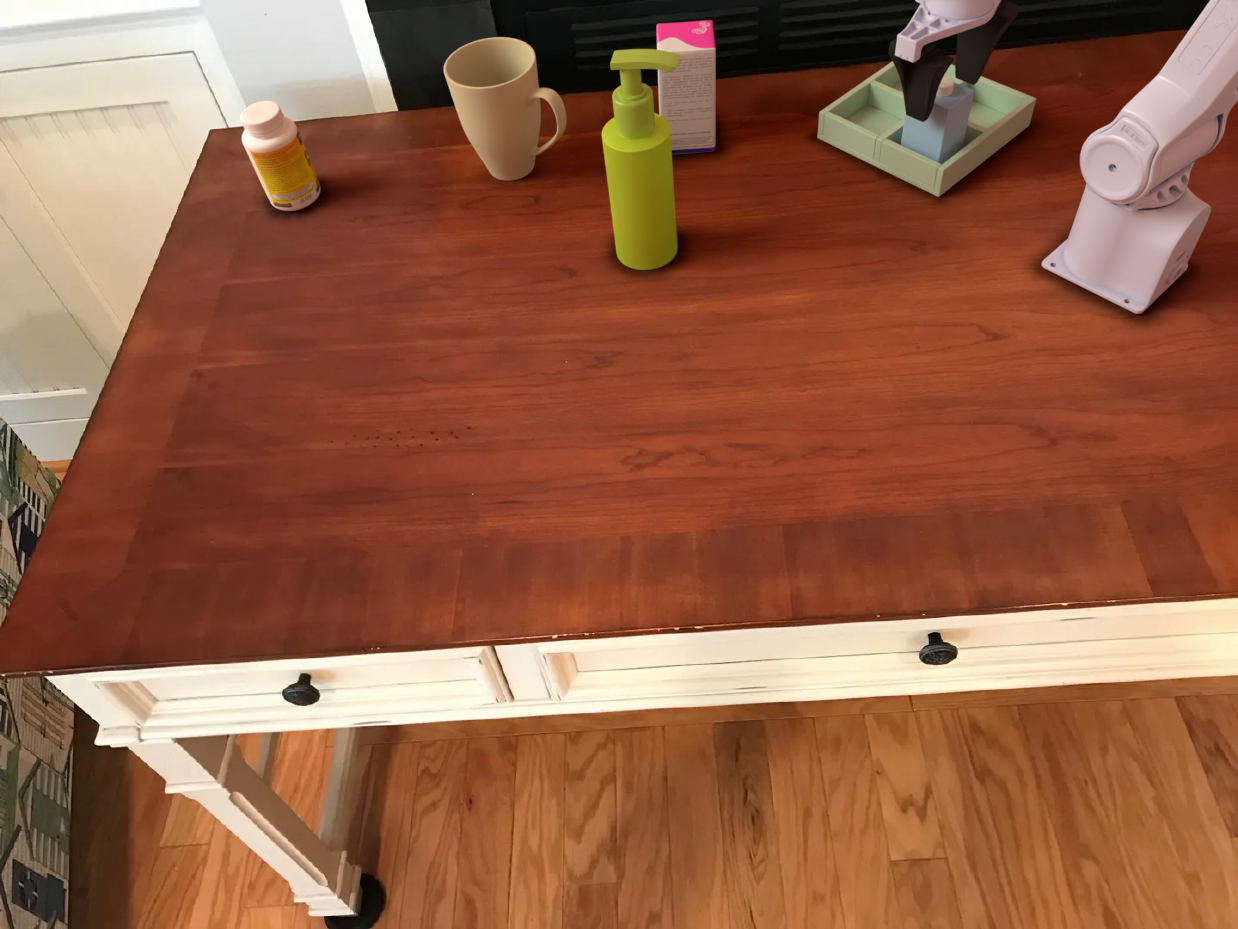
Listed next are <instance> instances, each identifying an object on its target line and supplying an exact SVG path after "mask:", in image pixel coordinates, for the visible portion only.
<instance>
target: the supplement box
mask: <svg viewBox="0 0 1238 929" xmlns="http://www.w3.org/2000/svg"><path fill="white" fill-rule="evenodd" d="M655 31H656V32H655V33H656V50H662V51H667V52H671V53H675V54H678V55H680V58H679V62H678V65H677V68H676V69H675V70H674V71H673V72H668V71H663V70H657V86H658V88H657V89H658V91H657V92H658V114H659V115H661V116H662V117H664V118H665V119H666V120H667V121H668V123H669V125H670V133H671V149H672V156H673V155H684V154H700V153H711V152H715V151H716V133H717V132H716V127H717V126H716V124H717V122H716V120H717V118H716V110H717V109H716V107H717V106H716V101H717V97H716V96H717V95H716V94H717V93H716V91H717V90H716V89H717V88H716V85H717V83H716V78H717V77H716V76H717V72H716V67H717V66H716V64H717V63H716V62H717V61H716V60H717V59H716V58H717V56H716V55H717V54H716V48H717V47H716V39H715V30H714V21H713V20H711V19H708V20H694V21H682V22H662V23H660V22H659V23H657V24H656V29H655Z"/></svg>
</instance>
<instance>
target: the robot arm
mask: <svg viewBox="0 0 1238 929" xmlns="http://www.w3.org/2000/svg"><path fill="white" fill-rule="evenodd" d="M914 1H915V3H918V4H919V6H918V7H917V9H916V11H915V12H914V14H913V16H912V17H911V19H910V21H909V22H908V24H907V25H906V27H905V28H904V29H903V30H902V31H901V32H900V33H898V34H897V35H896V37H895V39H893V40H892V41H890V43H889V46H888V47H889V48H888V56H889V57H890V59H891V62H892V61H893V63H894V65H895V67H896V69H897V72H898V74H899V77H900V80H901V84H902V89H903V96H904V103H905V110H906V115H908V116H910V117H912V118H914V119H917V120H919V121H921V122H924V121H926V120H927V119H928V118H929V116H930V114H931V112H932V109H933V105H934V102H935V98H936V95H937V91H938V88H939V86H940V83H941V81H942V79H943V77H944V75H945V73H946V71H947V70H948V68H949V67H950V65H951V64H952V65H953V62H955V63H954V65H955V76H956V78H957V79H959V80H962V81H964V82H967V83H969V84H972V85H975V84H976V83H977V82H978V80H979V79H980V77H981V76H983V72H984V71H985V68H986V66H987V64H988V61H989V60H990V58H991V56H992V54H993V52H994V50H995V48H996V46H997V44H998V43H999V41H1000V39H1001V38H1002V36H1003V35H1004V34H1005V32H1006V30H1007V29H1008V28H1009V26H1011V24H1012V23H1013V22H1014V20H1015V19H1016V18H1017V17H1018V15H1019V10H1020V7H1019V5H1018V4H1016V3H1013V2H1011V1H1008V0H914ZM954 35H956V40H957V42H956V51H955V52H956V54H955V57H952V56H949V55H947V54H944V53H942V52H940V47H939V46H937V44H938V42H937V41H939V40H943V39H945V38H948V37H951V36H954ZM1237 102H1238V0H1209V1H1208V2H1207V4H1206V5H1205V7H1203V9H1202V11H1201V13H1200V14H1199V15H1198V17H1197V18H1196V20H1195V21H1194V23H1193V24H1192V25H1191V26H1190V28H1189V29H1188V31H1187V33H1185V35H1184V37H1183V38H1182V40H1181V41H1180V42H1179V43H1178V45H1177V46H1176V48H1175V49H1174V51H1173V53H1171V55H1170V56H1169V58H1168V60H1167V61H1166V62H1165V63H1164V65H1163V67H1162V68H1161V69H1160V71H1159V72H1158V73H1157V75H1156V76H1154V78H1153V79H1151V81H1149V82H1148V83H1147V84H1146V85H1145V86H1144V87H1143V88H1142V89H1141V90H1140V91H1139V92H1138V93H1137V94H1136V95H1135V96H1133V97H1132V99H1130V100H1129V101H1128V102H1127V103H1126V104H1125V105H1124V106H1123V108H1121V110H1120V111H1119V113H1118V114H1117V116H1116V117H1115V118H1114V119H1113V120H1112V122H1110V123H1108V124H1106V125H1104V126H1102V127H1100V128H1098V129H1097V130H1095V131H1093V132H1092V133H1091V134H1090V135H1089V136H1088V137H1087V138H1086V140H1084V142H1083V144H1082V146H1081V150H1080V154H1079V166H1080V172H1081V174H1082V178H1083V180H1084V181H1085V187H1084V189H1083V190H1084V191H1083V193H1082V196H1081V200H1080V202H1079V205H1078V208H1077V211H1076V213H1075V217H1074V220H1073V223H1072V226H1071V228H1070V231H1069V234H1068V237H1067V238H1066V239H1065V240H1064V241H1063V242H1062V243H1061V244H1059V246H1057V248H1055V249H1054V250H1053V251H1052V252H1051V253H1049V255H1047V256H1046V257H1045V258H1043V260H1042V261H1041V267H1042V268H1043V269H1044V270H1047V271H1049V272H1051V273H1053V274H1055V275H1057V276H1059V277H1061V278H1063V279H1064V280H1067V281H1069V282H1071V283H1073V284H1075V285H1077V286H1079V287H1081V288H1083V289H1084V290H1087V291H1089V292H1091V293H1093V294H1095V295H1097V296H1099V297H1101V298H1103V299H1105V300H1107V301H1109V302H1111V303H1113V304H1114V305H1115V304H1116V305H1117V306H1119V307H1121V308H1123V309H1125V310H1127V311H1129V312H1131V313H1133V314H1136V315H1140V314H1143V313H1144V312H1145V311H1146V310H1147V309H1148V308H1149V307H1150V306H1151V305H1152V304H1153V303H1154V302H1156V300H1157V299H1158V298H1159V297H1160V296H1161V295H1162V294H1163V293H1164V292H1165V291H1166V290H1168V288H1169V287H1171V286H1172V285H1173V283H1175V282H1176V281H1177V280H1178V279H1179V278H1180V277H1181V276H1182V275H1183V274H1184V273H1185V272H1186V271H1187V269H1188V267H1189V264H1188V262H1189V260H1190V258H1191V257H1192V254H1193V252H1194V250H1195V248H1196V247H1197V244H1198V242H1199V239H1200V238H1201V235H1202V233H1203V231H1204V229H1205V227H1206V225H1207V222H1208V221H1209V218H1210V215H1211V213H1212V206H1211V205H1210V204H1209V203H1207V202H1205V201H1203V200H1202V199H1201V198H1200V197H1198V196H1197V195H1195V194H1194V193H1193V191H1191V189H1190V188H1189V187H1188V185H1189V181H1190V177H1191V172H1192V169H1193V167H1194V165H1195V163H1196V160H1197V159H1201V158H1203V157H1204V156H1206V155H1208V154H1209V153H1211V152H1213V150H1215V149H1216V148H1217V146H1218V145H1219V144H1220V142H1221V141H1222V139H1223V137H1224V134H1225V131H1226V125H1227V120H1228V117H1229V114H1230V112H1231V110H1232V109H1233V108H1234V106H1235V105H1236V104H1237Z"/></svg>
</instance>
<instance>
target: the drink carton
mask: <svg viewBox="0 0 1238 929" xmlns="http://www.w3.org/2000/svg"><path fill="white" fill-rule="evenodd" d="M973 95H974V90H972V89H970V88H967V87H965V86H963V85H960V84H958V83H955V82H954V80H953V79H952V78H950V77H948V76H944V77H943V79H942V81H941V83H940V86H939V88H938V91H937V95H936V98H935V102H934V105H933V109H932V112H931V114H930V116H929V118H928V119H927V120H926V121H924V122H921V121H919V120H917V119H914V118H912V117H910V116H908V115H906V113H905V119H904V126H903V132H902V139H901V145H902V146H904V147H906V148H908V149H910V150H912V151H915V152H917V153H919V154H921V155H923V156H925V157H927V158H930V159H932V160H934V161H936V162H938V163H940V164H943V163H945V162H946V161H947V160H949V159H950V158H951V157H953V156H954V155H955V154H956V153H958V152H959V151H960V150H962V147H963V142H964V138H965V133H966V128H967V123H968V119H969V114H970V109H971V104H972V100H973Z"/></svg>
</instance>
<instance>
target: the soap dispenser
mask: <svg viewBox="0 0 1238 929" xmlns="http://www.w3.org/2000/svg"><path fill="white" fill-rule="evenodd" d="M679 58H680V55H678V54H675V53H671V52H667V51H662V50H657V49H656V48H655V49H654V48H631V49H629V48H628V49H619V50H614V51H613V54H612V57H611V60H610V63H609V66H610V68H609V69H610V70H611V71H616V70H617V71H619V77H620V78H619V79H620V85H619V86H617V87H616V88H615V89H614V91H613V92H612V95H611V96H612V97H611V99H612V100H611V101H612V108H613V118H610V120H608V121H607V122H606V123H605V125H604V126H603V127H602V130H601V141H602V149H603V150H602V151H603V157H604V166H605V172H606V181H607V188H608V197H609V205H610V213H611V220H612V221H611V222H612V228H613V237H614V244H615V245H614V246H615V254H616V257H617V259H618V260H619V262H620V263H621V264H622V265H623V266H626V267H628V268H630V269H633V270H637V271H651V270H656V269H659V268H662V267H664V266H666V265H668V264H669V263H670V262H671V261H673V259H674V258H675V256H676V255H677V254H678V232H677V218H676V217H677V215H676V201H675V198H676V197H675V185H674V183H675V182H674V167H673V155H672V149H671V133H670V125H669V123H668V121H667V120H666V119H665V118H664V117H662V116H661V115H659V113H656V112H655V104H654V92H653V89H652V88H651V86H649V85H648V84H647V83H643V82H642V81H643V80H642V71H641V70H657V71H658V70H663V71H668V72H673V71H674V70H675V69H676V68H677V65H678V62H679Z"/></svg>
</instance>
